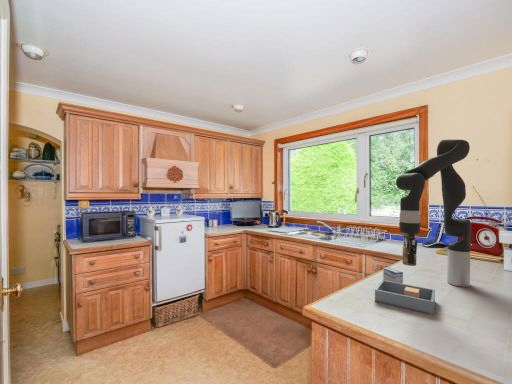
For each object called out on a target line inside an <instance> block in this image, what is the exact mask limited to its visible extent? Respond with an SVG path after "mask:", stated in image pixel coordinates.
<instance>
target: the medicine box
mask: <svg viewBox="0 0 512 384" xmlns="http://www.w3.org/2000/svg"><path fill="white" fill-rule="evenodd" d="M382 273H383V275H382V276H383V277H382V278H383V279H382V280H386V281H391V282H396V283H402V284H404V272H403V271H400V270H397V269H395V268H391V267H384V268H383V271H382Z"/></svg>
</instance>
